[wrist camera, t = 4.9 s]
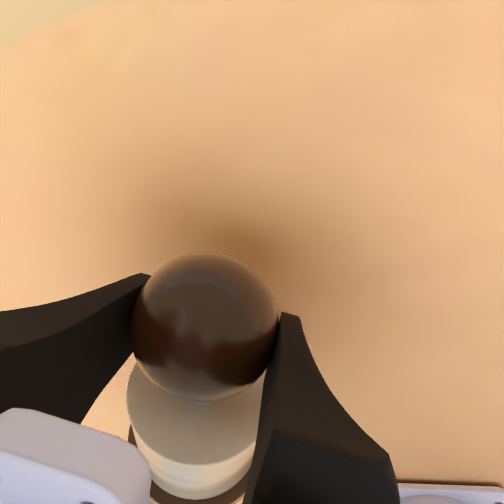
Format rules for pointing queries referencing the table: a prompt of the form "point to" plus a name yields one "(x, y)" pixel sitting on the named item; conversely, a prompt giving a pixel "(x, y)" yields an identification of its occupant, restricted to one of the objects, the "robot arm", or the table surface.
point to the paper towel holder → (200, 376)
